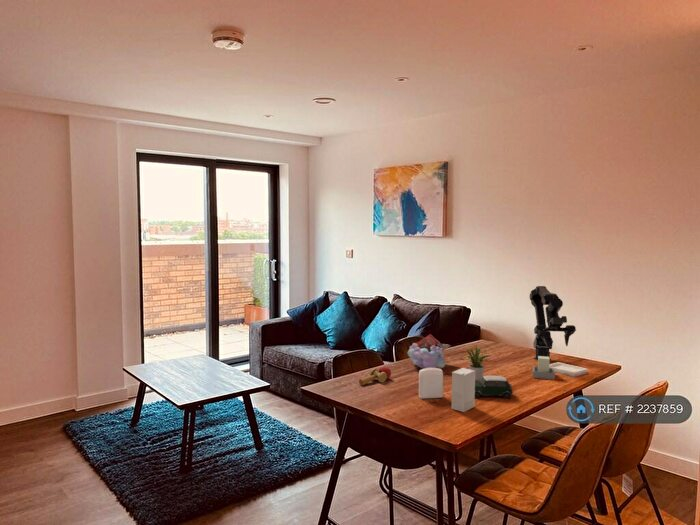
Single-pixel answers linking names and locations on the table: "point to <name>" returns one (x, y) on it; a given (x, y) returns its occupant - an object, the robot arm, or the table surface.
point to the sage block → (543, 364)
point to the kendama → (377, 375)
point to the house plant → (477, 362)
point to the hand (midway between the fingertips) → (557, 345)
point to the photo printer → (430, 383)
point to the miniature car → (493, 387)
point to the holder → (544, 374)
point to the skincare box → (463, 389)
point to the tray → (568, 369)
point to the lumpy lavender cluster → (428, 353)
